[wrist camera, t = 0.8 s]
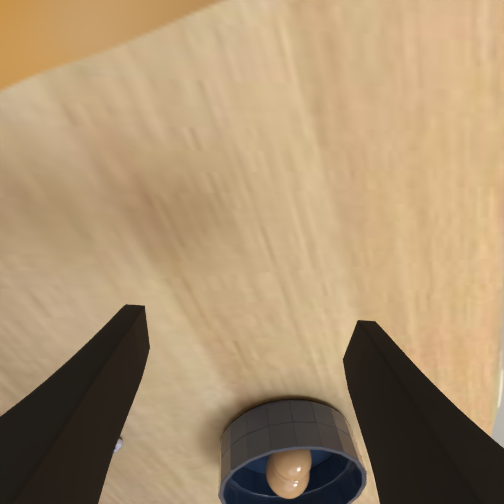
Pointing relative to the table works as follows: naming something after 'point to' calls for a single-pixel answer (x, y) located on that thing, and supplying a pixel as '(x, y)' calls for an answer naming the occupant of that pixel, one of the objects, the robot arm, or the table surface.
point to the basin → (285, 439)
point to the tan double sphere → (289, 472)
